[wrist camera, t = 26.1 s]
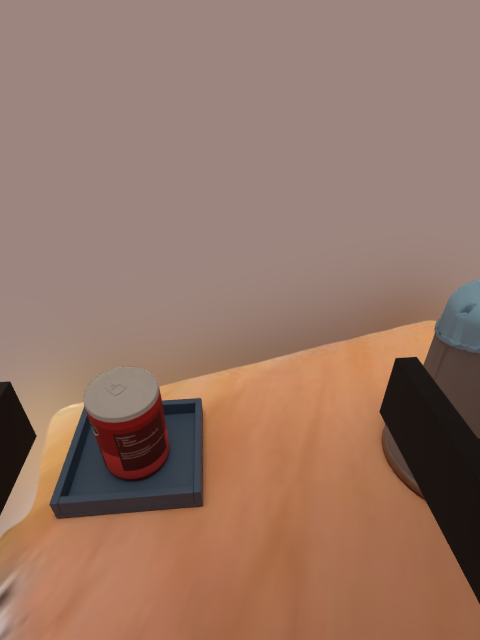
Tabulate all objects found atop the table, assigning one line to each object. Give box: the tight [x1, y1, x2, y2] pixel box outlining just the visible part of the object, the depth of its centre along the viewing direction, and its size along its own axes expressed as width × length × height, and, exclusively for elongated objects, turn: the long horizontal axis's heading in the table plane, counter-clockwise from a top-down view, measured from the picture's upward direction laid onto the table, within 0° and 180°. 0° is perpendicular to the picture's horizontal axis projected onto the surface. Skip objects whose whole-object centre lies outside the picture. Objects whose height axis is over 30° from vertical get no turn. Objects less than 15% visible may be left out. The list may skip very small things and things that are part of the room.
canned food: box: [83, 367, 169, 481], centre depth 42 cm, size 8×8×11 cm
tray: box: [50, 398, 203, 518], centre depth 45 cm, size 16×14×3 cm
